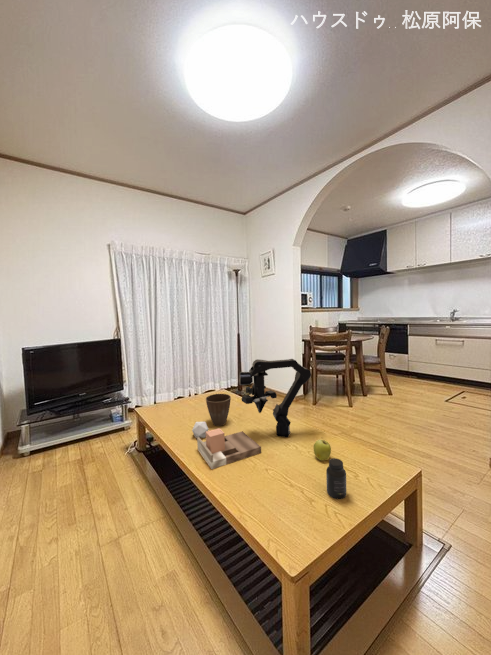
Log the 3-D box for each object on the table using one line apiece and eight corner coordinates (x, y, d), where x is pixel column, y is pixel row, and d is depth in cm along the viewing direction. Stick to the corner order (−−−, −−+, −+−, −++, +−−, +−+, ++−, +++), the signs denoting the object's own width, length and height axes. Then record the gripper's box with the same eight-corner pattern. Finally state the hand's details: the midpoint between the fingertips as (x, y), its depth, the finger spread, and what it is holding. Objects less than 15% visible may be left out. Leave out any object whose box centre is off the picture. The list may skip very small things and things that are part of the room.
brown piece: (242, 436, 141) (242, 425, 141) (261, 452, 124) (260, 440, 124) (197, 449, 129) (197, 437, 129) (211, 469, 113) (210, 455, 112)
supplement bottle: (323, 488, 98) (323, 457, 98) (341, 486, 99) (340, 455, 98) (331, 501, 92) (330, 467, 91) (350, 499, 92) (349, 466, 91)
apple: (308, 456, 118) (312, 434, 119) (318, 455, 123) (321, 434, 124) (323, 464, 112) (326, 440, 113) (332, 462, 117) (336, 440, 118)
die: (201, 443, 137) (210, 426, 140) (187, 434, 138) (197, 417, 141) (203, 441, 145) (212, 425, 147) (190, 433, 146) (199, 417, 149)
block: (220, 444, 128) (219, 428, 127) (225, 449, 123) (224, 433, 122) (206, 448, 125) (205, 431, 124) (210, 453, 119) (210, 436, 119)
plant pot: (230, 428, 151) (229, 401, 150) (204, 429, 152) (203, 402, 151) (232, 418, 166) (231, 393, 165) (209, 418, 167) (207, 394, 166)
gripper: (265, 378, 151) (266, 404, 151) (236, 383, 142) (237, 411, 143) (276, 382, 141) (277, 410, 142) (246, 388, 132) (247, 418, 133)
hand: (259, 412), depth 140 cm, fingers closed
